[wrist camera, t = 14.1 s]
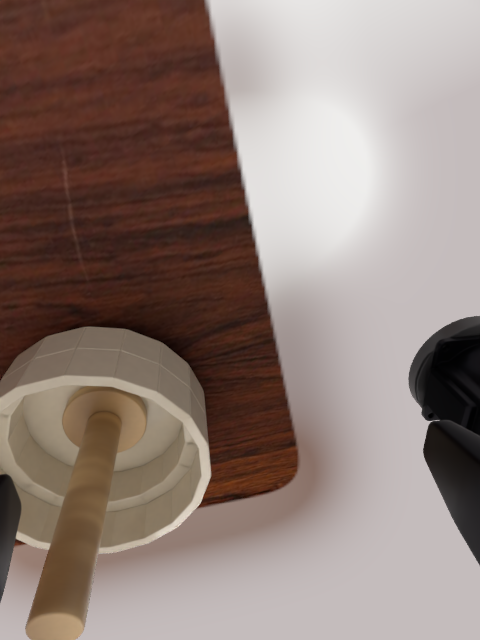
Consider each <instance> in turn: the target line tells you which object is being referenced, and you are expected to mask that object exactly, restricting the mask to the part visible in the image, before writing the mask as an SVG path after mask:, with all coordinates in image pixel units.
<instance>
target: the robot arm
mask: <svg viewBox="0 0 480 640" xmlns="http://www.w3.org/2000/svg"><path fill="white" fill-rule="evenodd" d="M444 345H446V346H445V347H444V348H443V346H444ZM422 416H423V417H424V418H425V419H426V420H427V421H433V420H440V421H433V422H431V423H430V424H429V426H428V430H427V435H426V439H425V444H424V448H423V453H424V458H425V460H426V462H427V465H428V467H429V469H430V471H431V473H432V476H433V478H434V480H435V482H436V484H437V486H438V488H439V490H440V493H441V495H442V497H443V499H444V501H445V503H446V505H447V508H448V510H449V512H450V514H451V516H452V518H453V520H454V522H455V524H456V525H457V527H458V529H459V531H460V533H461V534H462V536H463V538H464V539H465V541H466V543H467V545H468V546H469V548H470V550H471V551H472V553H473V555H474V556H475V558H476V560H477V561H478V563H479V565H480V335H472V336H462V337H452V338H443V339H440V340H439V341H438V342H437V343H436V345H435V350H434V355H433V360H432V365H431V369H430V372H429V376H428V381H427V386H426V391H425V396H424V404H423V408H422ZM21 510H22V506H21V500H20V498H19V495H18V493H17V490H16V487H15V485H14V482H13V480H12V478H11V476H10V475H8V474H0V602H1V598H2V595H3V592H4V588H5V583H6V580H7V575H8V571H9V566H10V561H11V557H12V553H13V548H14V544H15V539H16V534H17V530H18V525H19V521H20V516H21Z"/></svg>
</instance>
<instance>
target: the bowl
mask: <svg viewBox="0 0 480 640" xmlns="http://www.w3.org/2000/svg"><path fill="white" fill-rule="evenodd" d="M85 386H104V387H114V388H117V389H120V390H123V391H126V392H129V393H132V394H135V395H138V396H140V398H141V399H142V400H143V402H144V404H145V406H146V409H147V425H146V430H145V433H144V435H143V437H142V438H141V439H140V440H139V442H138V443H137V444H135V445H134V446H133V447H131V448H130V449H128V450H125V451H123V452H120V453H117V455H116V461H115V466H114V471H113V477H112V482H111V488H110V493H109V498H108V504H107V509H106V514H105V520H104V525H103V531H102V536H101V541H100V547H99V552H98V554H104V553H115V552H119V551H122V550H126V549H130V548H134V547H138V546H141V545H145V544H148V543H150V542H152V541H154V540H156V539H158V538H159V537H161V536H163V535H165V534H166V533H168V532H170V531H172V530H174V529H176V528H177V527H178V526H180V525H181V524H182V523H183V522H184V521H185V519H186V518H187V517H188V516H189V515H190V514H191V513H192V512H193V511H194V510H195V509H196V508H197V507H198V506H199V505H200V503H201V501H202V498H203V496H204V493H205V491H206V488H207V485H208V483H209V480H210V478H211V465H210V454H209V443H208V432H207V420H206V409H205V399H204V392H203V389H202V387H201V385H200V383H199V382H198V380H197V378H196V376H195V375H194V373H193V371H192V369H191V367H190V366H189V365H188V363H187V362H186V361H184V360H183V359H182V358H181V357H179V356H178V355H177V354H176V353H175V352H173V351H172V350H171V349H170V348H168V347H167V346H166V345H165V344H164V343H161V342H160V341H157V340H154V339H152V338H149V337H146V336H144V335H141V334H139V333H136V332H133V331H131V330H128V329H121V328H104V327H88V326H87V327H82V328H78V329H74V330H70V331H66V332H62V333H58V334H54V335H50V336H46V337H45V338H43V339H42V340H40V341H39V342H37V343H36V344H34V345H33V346H31V347H30V348H28V349H27V350H25V351H24V352H22V353H21V354H19V355H18V356H17V357H16V358H15V360H14V361H13V363H12V364H11V366H10V367H9V369H8V370H7V372H6V373H5V375H4V376H3V378H2V379H1V380H0V474H8V475H10V476H11V478H12V480H13V482H14V485H15V487H16V490H17V493H18V495H19V498H20V500H21V506H22V510H21V516H20V521H19V525H18V530H17V534H16V539H18V540H20V541H22V542H24V543H26V544H29V545H31V546H34V547H36V548H42V549H47V550H49V547H50V544H51V541H52V538H53V534H54V531H55V528H56V524H57V521H58V518H59V514H60V511H61V508H62V504H63V501H64V498H65V495H66V491H67V488H68V485H69V481H70V478H71V475H72V471H73V468H74V465H75V461H76V458H77V455H78V452H79V447H77V446H76V445H75V444H73V443H72V442H71V441H70V440H69V438H68V437H67V436H66V434H65V432H64V429H63V425H62V417H63V413H64V410H65V407H66V405H67V403H68V401H69V399H70V398H71V397H72V395H73V394H74V393H76V392H77V391H78V390H80V389H82V388H83V387H85Z"/></svg>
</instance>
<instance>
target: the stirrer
mask: <svg viewBox="0 0 480 640" xmlns="http://www.w3.org/2000/svg"><path fill="white" fill-rule="evenodd" d="M62 425H63V429H64V432H65V434H66V436H67V437H68V438H69V440H70V441H71V442H72V443H73V444H75V445H76V446H77V447H79V452H78V455H77V458H76V461H75V465H74V468H73V471H72V475H71V478H70V481H69V485H68V488H67V491H66V495H65V498H64V501H63V504H62V508H61V511H60V514H59V518H58V521H57V524H56V528H55V531H54V534H53V538H52V541H51V544H50V547H49V551H48V554H47V557H46V561H45V564H44V567H43V571H42V574H41V578H40V581H39V584H38V587H37V591H36V594H35V598H34V600H33V604H32V607H31V610H30V614H29V617H28V621H27V624H26V628H25V629H26V634H27V636H28V637H29V638H30V639H31V640H75V639H77V638H78V637H79V636H80V635H81V634H82V632H83V630H84V627H85V622H86V616H87V611H88V605H89V600H90V595H91V590H92V584H93V579H94V573H95V568H96V563H97V557H98V552H99V547H100V541H101V536H102V531H103V525H104V520H105V514H106V509H107V504H108V498H109V493H110V488H111V482H112V477H113V471H114V466H115V461H116V455H117V453H120V452H123V451H125V450H128V449H130V448H131V447H133V446H134V445H135V444H137V443H138V442H139V440H140V439H141V438H142V437H143V435H144V433H145V430H146V425H147V409H146V406H145V404H144V402H143V400H142V399H141V398H140V396H138V395H135V394H132V393H129V392H126V391H123V390H120V389H117V388H114V387H104V386H85V387H83V388H82V389H80V390H78V391H77V392H76V393H74V394H73V395H72V397H71V398H70V399H69V401H68V403H67V405H66V407H65V410H64V413H63V417H62Z"/></svg>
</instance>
